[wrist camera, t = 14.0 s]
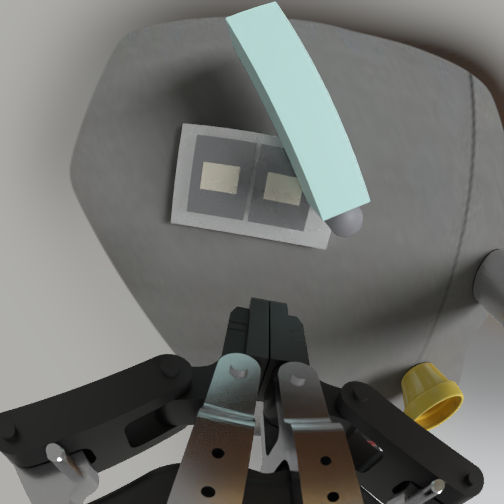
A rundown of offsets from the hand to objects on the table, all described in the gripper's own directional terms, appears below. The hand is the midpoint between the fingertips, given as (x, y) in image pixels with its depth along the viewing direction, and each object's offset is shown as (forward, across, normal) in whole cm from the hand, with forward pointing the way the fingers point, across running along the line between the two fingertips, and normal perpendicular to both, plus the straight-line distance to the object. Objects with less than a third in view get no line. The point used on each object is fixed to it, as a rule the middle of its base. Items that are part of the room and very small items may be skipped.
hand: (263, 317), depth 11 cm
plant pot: (+19, -32, +21) cm, 43 cm away
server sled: (+18, +1, -3) cm, 18 cm away
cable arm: (+13, -1, -9) cm, 16 cm away
